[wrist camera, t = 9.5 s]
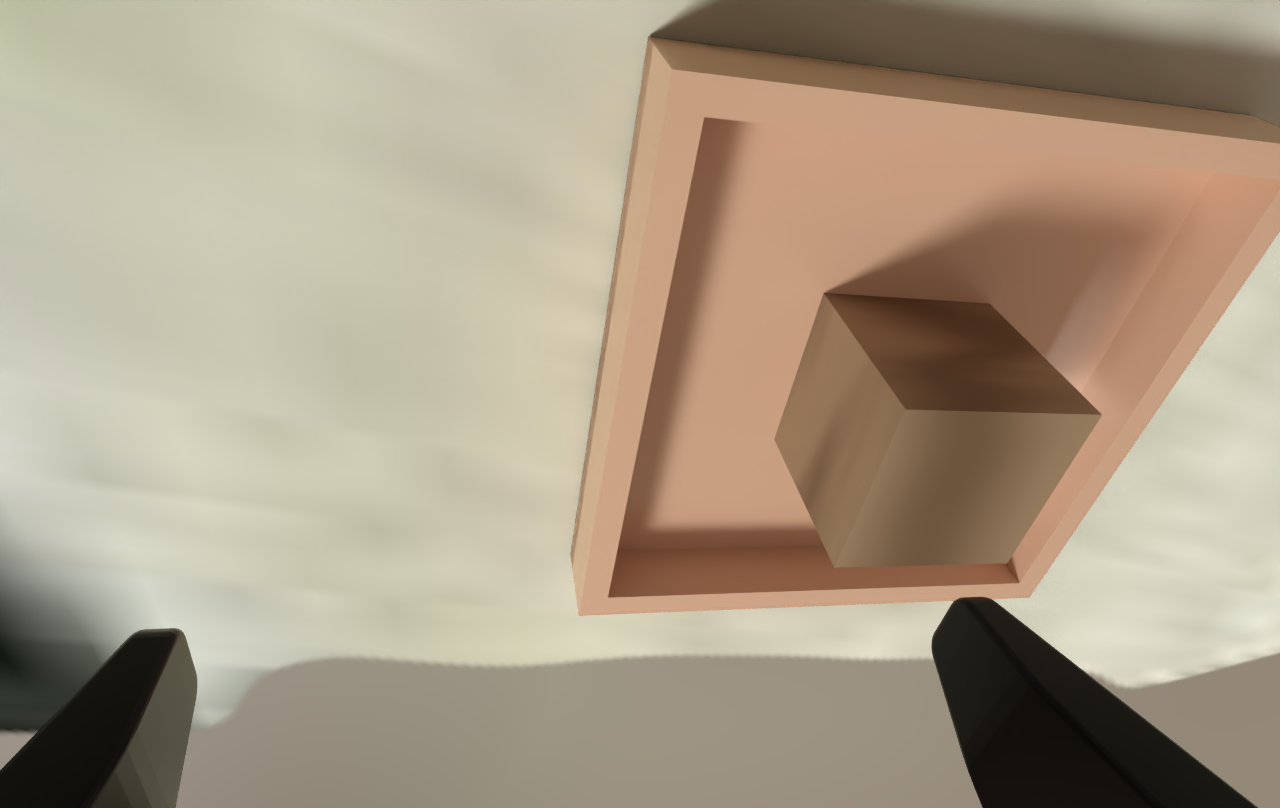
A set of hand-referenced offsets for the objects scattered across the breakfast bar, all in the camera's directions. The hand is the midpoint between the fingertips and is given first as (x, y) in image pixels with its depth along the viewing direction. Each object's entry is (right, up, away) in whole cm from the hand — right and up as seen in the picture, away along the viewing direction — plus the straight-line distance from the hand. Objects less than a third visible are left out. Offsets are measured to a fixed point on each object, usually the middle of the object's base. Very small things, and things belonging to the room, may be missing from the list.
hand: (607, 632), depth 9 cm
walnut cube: (+7, +3, +13) cm, 16 cm away
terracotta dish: (+7, +4, +14) cm, 16 cm away
